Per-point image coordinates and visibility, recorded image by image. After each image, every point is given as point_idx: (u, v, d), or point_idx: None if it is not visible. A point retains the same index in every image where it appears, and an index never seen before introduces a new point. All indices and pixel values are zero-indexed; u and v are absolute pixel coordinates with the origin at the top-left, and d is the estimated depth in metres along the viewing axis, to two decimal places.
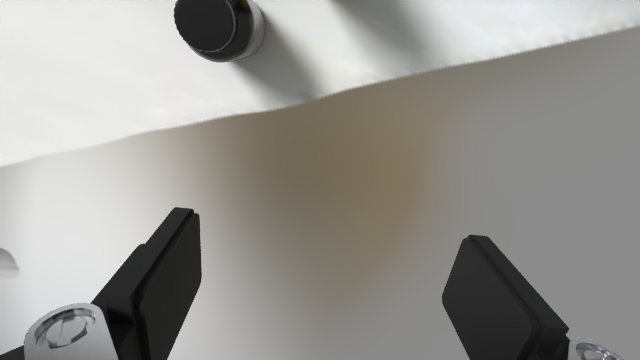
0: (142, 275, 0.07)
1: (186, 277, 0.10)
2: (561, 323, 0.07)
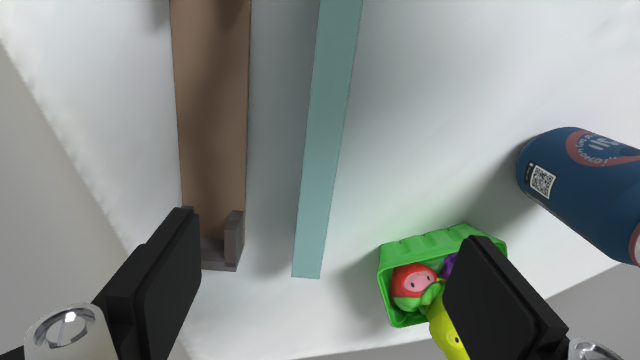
0: (142, 275, 0.07)
1: (186, 277, 0.10)
2: (560, 322, 0.07)
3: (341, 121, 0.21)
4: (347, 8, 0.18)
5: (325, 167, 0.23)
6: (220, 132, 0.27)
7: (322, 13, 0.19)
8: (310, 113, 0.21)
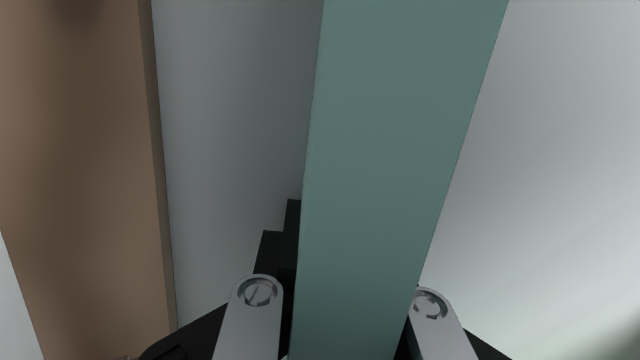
0: (296, 252, 0.09)
1: None
2: None
3: (398, 319, 0.07)
4: None
5: None
6: (105, 258, 0.12)
7: None
8: (300, 301, 0.07)
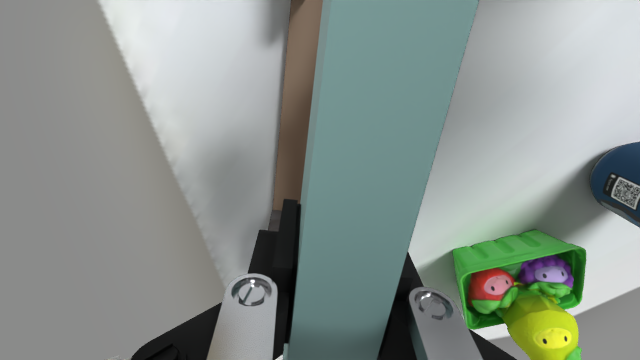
0: (290, 252, 0.09)
1: None
2: (408, 274, 0.08)
3: (388, 296, 0.08)
4: None
5: None
6: None
7: None
8: (301, 280, 0.07)
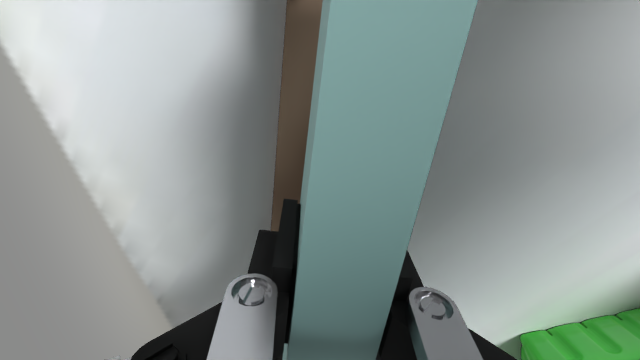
0: (290, 252, 0.09)
1: None
2: (408, 274, 0.08)
3: (387, 293, 0.08)
4: None
5: None
6: None
7: None
8: (301, 277, 0.07)
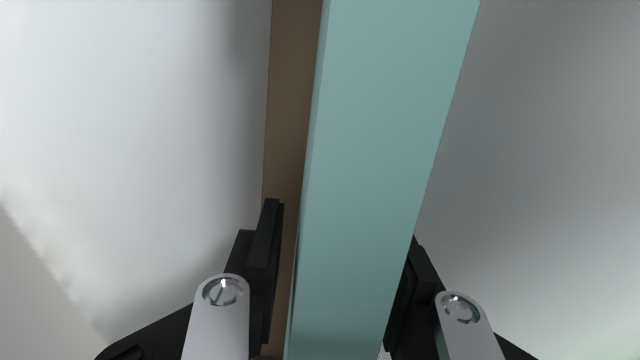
0: (266, 252, 0.09)
1: (278, 258, 0.11)
2: (432, 277, 0.08)
3: (389, 292, 0.08)
4: None
5: None
6: None
7: None
8: (302, 275, 0.07)
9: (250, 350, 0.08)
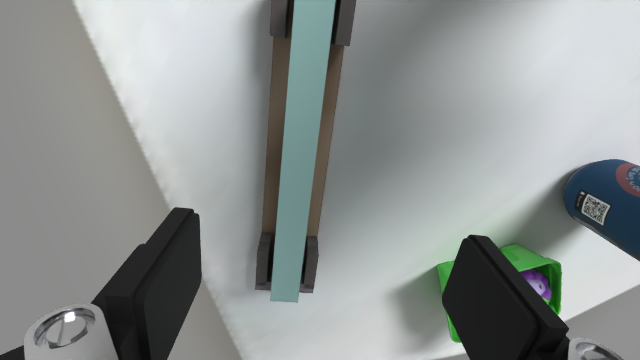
0: (142, 275, 0.07)
1: (186, 277, 0.10)
2: (561, 323, 0.07)
3: (313, 154, 0.23)
4: (315, 52, 0.20)
5: (300, 197, 0.24)
6: None
7: (292, 57, 0.20)
8: (284, 147, 0.22)
9: None
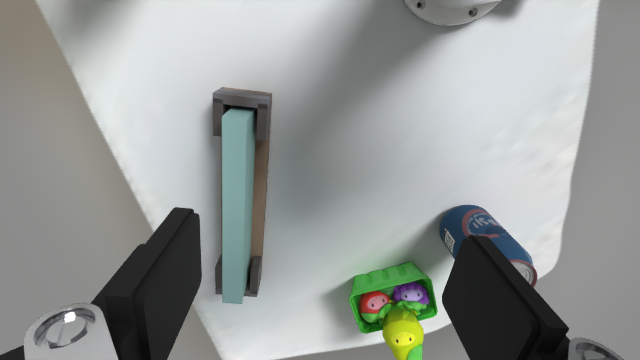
0: (142, 275, 0.07)
1: (186, 277, 0.10)
2: (560, 322, 0.07)
3: (242, 210, 0.35)
4: (237, 153, 0.32)
5: (236, 236, 0.36)
6: None
7: (223, 155, 0.32)
8: (223, 206, 0.35)
9: None
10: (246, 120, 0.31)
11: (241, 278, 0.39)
